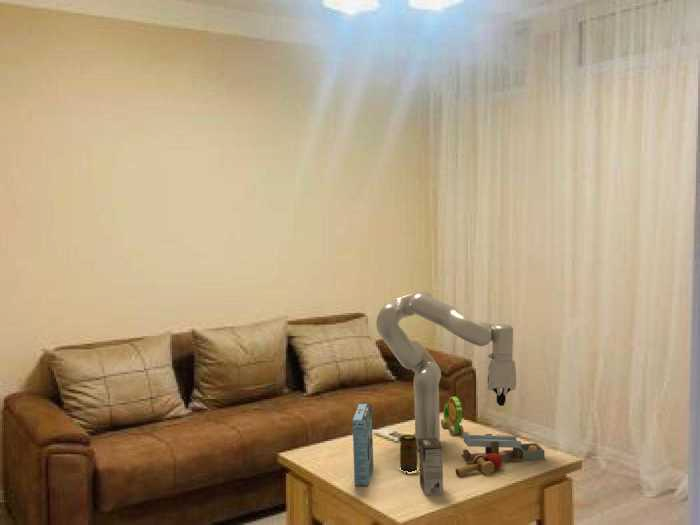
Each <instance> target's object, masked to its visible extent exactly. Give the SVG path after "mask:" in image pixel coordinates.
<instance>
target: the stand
mask: <svg viewBox="0 0 700 525" xmlns="http://www.w3.org/2000/svg"><path fill="white" fill-rule="evenodd" d="M485 435H493V434H492V433H485ZM484 448H485V450H484V451H485V452H477V453H471V452H470V451H469V450H468V449H465V448H464V449H462V453H461V458H462V459H463V460H464V462H465V463H466V466H469V465H473V464H474V463H473V460H474V458H475V456H477V455H482V456H484V458H486V456H487V455H488V454H490V453H496V454H498V455H499V456H500V457H501V459H502V464H504V463H518V462H519V463H520V462H525V461H524V460H523V458H522V457H521V449H520V448H512V450H511V451H500V447H499V442H498V441H492V447H484Z"/></svg>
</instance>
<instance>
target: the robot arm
mask: <svg viewBox="0 0 700 525" xmlns="http://www.w3.org/2000/svg"><path fill="white" fill-rule="evenodd" d="M414 315H416V316H418V317H421V318H423V319H425V320H427V321H429V322H432V323H434V324H436V325H438V326H439V327H442V328H444V329H445V330H447V331H448V332H450V333H452V334H453V335H455V336H457V337H458V338H460V339H462V340H464V341H466V342H468V343H470V344H472V345H474V346H477V347H485V346H487V345H488V344H490V342H492V344H491V345H492V346H491V353H490V354H488V358H489V359H490V360H489V365H488V370H487V386H486V389H487V390H488V391H492V392H494V393H495V394H496V403H497V405H498V406H500V407H501V406H502V407H504V406H505V403H506V400H507V399H506V396H507V395H508V394H509V393H510V391H515V390H516V389H517V388H516V387H517V370H516V362H515V360H513V350H514V348H513V347H514V328H513V326H512V325H511V324H504V323H499V324H496V323H489V322H485V321H481V322H478V323H476V322H474V321H472V320H470V319H468V318H467V317H464V316H463V315H462V314H461V313H460V312H459V311H458V310H457V309H456V308H454V307H453V306H451V305H449V304H447V303H445V302H443V301H440V300H439V299H436V298H434V297H433V295H431V293H429V292H428V291H426V290H419V291H415V292H412V293H409V294H407V295H404V296H400V297H397V298H393V299H391V300H389V301H388V302H386V303H385V304H384V305H383V306H382V307H381V309H379V311H378V314H377V318H376V329H377V332H378V335H379V336H380V337H381V339H382V341H384V343H385V344H386V346H387V347H388V348H389V350H390V351H391V353H392V354H393V355H394V357H395V358H396V360H397V361H398V362H399V364H400V365H401V366H402V367H404V368H405V369H408V370H412V372H414V376H413V384H412V385H413V393H414V394H413V395H414V396H413V398H414V433H413V434H412V435H414V436H415V437H416V444H417V452H419V439H421V438H437V439H438V441H439V442H440V444H441V445H442V447H443V448H444V446H445V444H444V441H441V439H440V438H441V437H440V436H441V435H440V432H441V430H440V429H441V428H440V426H441V425H440V424H441V420H440V392H439V391H440V389H439V388H440V387H439V385H440V381H441V379H442V370H441V368H440V366H439V365H438V363H437V362H436V361H435V359H434V358H433V357H432V355H431V353H429V351H428V350H427V349H426V348H425V346H424V345H423V344H422V343H420V342H419V341H416V340H411V339H410V338H409V337H408V335H407V333H406V332H405V331H404V330H403V329H402V327H400V324H399V322H400V321H401V320H402V319H404V318H408V317H411V316H414Z"/></svg>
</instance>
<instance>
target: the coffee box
mask: <svg viewBox="0 0 700 525" xmlns="http://www.w3.org/2000/svg"><path fill="white" fill-rule="evenodd" d="M443 449H444V447H442V445H441V444H440V442H439V441H438V439H437V438H421V439H419V451H418V452H419V454H418V455H419V460H418V461H419V468H420V473H419V486H420V487H421V489H422V492H423V494H424V495H425V496H432V495H433V496H435V495H434V494H437V495H443V494H444V464H443V463H444V459H443V458H444V453H443V452H444V450H443Z"/></svg>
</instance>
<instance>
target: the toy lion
mask: <svg viewBox="0 0 700 525" xmlns="http://www.w3.org/2000/svg"><path fill="white" fill-rule="evenodd" d="M462 419H463V408H462V404H461V402H460V400H459V398H458V397H457V396H451V397H449V398H448V401H447V403H445V404H444V407H443V418H442V419H441V420H440V424H441V425H440V426H441V428H442V429H446V428H447V427H449V428H448V432H449V435H450V436H455V434H456V435H457V434H458V435H464V430H465V429H464V426H463V425H461V423H462Z"/></svg>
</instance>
